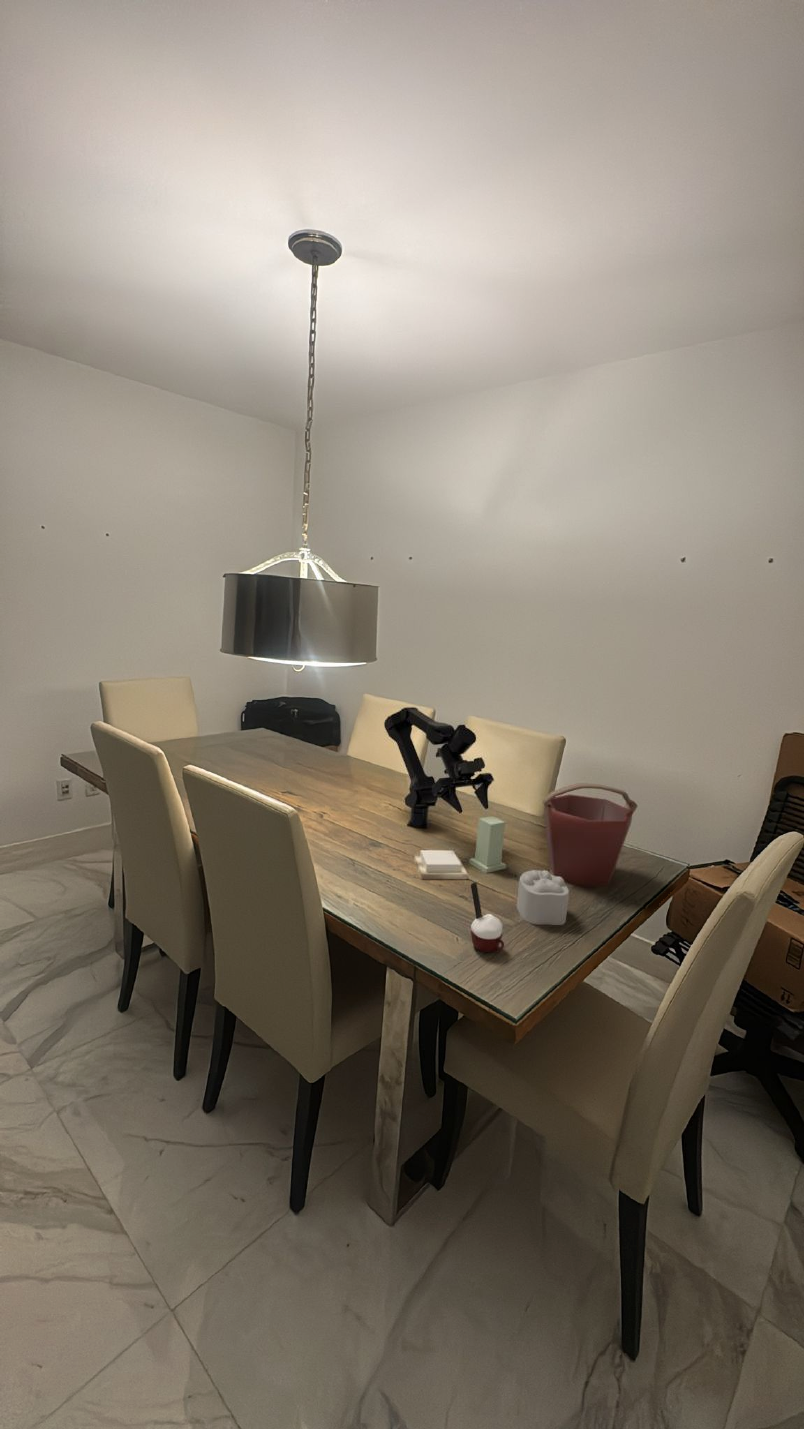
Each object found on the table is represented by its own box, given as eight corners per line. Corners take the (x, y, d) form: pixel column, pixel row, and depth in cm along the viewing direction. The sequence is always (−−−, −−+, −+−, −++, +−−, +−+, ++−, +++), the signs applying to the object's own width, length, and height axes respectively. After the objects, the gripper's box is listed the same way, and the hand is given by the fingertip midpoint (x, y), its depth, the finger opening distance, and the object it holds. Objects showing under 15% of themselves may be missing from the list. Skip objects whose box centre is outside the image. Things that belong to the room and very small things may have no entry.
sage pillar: (469, 862, 166) (473, 817, 163) (489, 858, 169) (493, 814, 167) (485, 873, 160) (490, 826, 157) (505, 868, 163) (510, 822, 161)
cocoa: (507, 958, 121) (516, 904, 119) (478, 961, 119) (487, 906, 117) (487, 932, 130) (495, 881, 128) (460, 934, 128) (468, 882, 126)
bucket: (625, 866, 170) (637, 781, 166) (633, 900, 149) (646, 804, 145) (537, 851, 177) (546, 769, 172) (532, 882, 156) (543, 789, 151)
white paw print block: (524, 924, 135) (528, 888, 133) (511, 896, 147) (514, 863, 146) (570, 925, 135) (574, 889, 134) (552, 898, 148) (556, 865, 147)
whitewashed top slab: (420, 857, 164) (420, 850, 163) (452, 857, 165) (453, 850, 165) (426, 871, 155) (426, 864, 155) (460, 871, 156) (460, 864, 156)
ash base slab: (413, 861, 165) (414, 855, 165) (456, 862, 167) (457, 855, 167) (421, 881, 154) (421, 874, 153) (467, 881, 155) (467, 874, 155)
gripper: (440, 750, 165) (462, 800, 158) (493, 745, 175) (515, 793, 168) (422, 770, 173) (442, 819, 166) (473, 765, 183) (494, 811, 176)
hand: (474, 810), depth 168 cm, fingers open, 9 cm apart
